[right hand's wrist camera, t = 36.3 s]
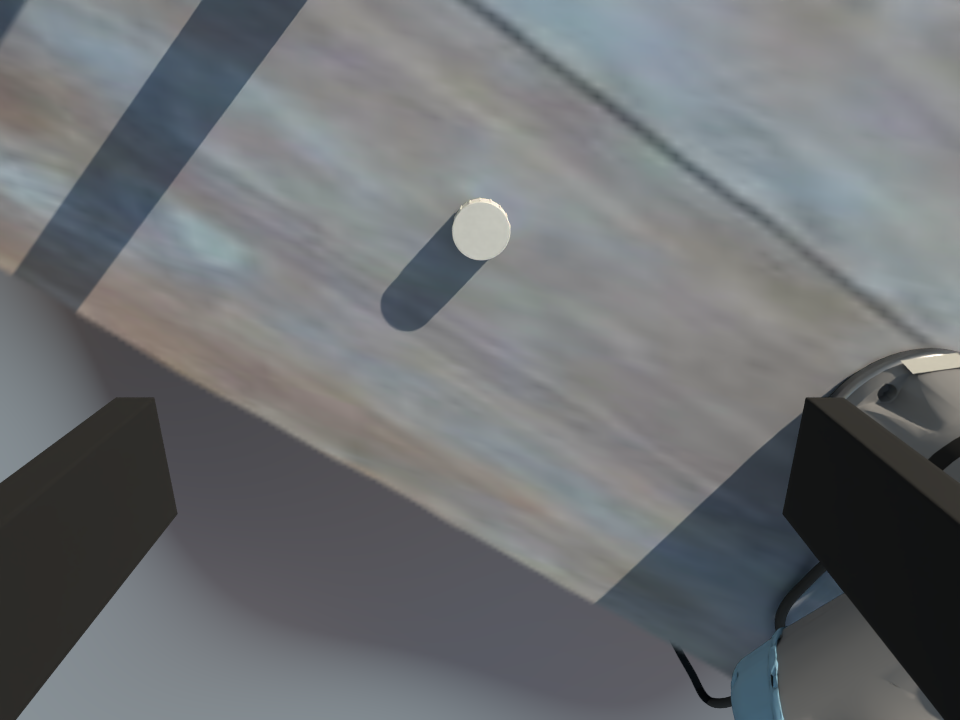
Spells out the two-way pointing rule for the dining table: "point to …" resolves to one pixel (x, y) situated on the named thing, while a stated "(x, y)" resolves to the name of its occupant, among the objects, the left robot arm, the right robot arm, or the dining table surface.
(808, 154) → the dining table surface
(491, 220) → the cap
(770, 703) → the right robot arm
